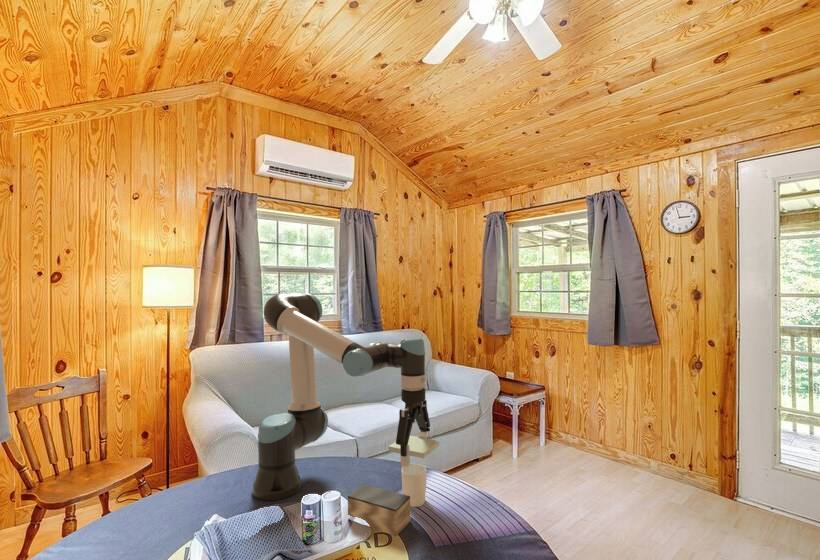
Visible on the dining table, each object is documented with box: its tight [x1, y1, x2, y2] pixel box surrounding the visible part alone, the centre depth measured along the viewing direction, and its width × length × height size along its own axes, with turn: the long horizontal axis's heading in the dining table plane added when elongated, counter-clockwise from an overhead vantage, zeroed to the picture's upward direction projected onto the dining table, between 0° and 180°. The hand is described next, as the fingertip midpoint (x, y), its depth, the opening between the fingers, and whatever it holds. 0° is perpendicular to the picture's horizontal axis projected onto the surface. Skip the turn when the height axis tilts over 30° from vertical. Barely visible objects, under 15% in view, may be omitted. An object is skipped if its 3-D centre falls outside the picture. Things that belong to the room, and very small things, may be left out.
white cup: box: [400, 463, 428, 508], centre depth 129 cm, size 8×8×10 cm
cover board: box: [388, 435, 440, 459], centre depth 129 cm, size 12×11×2 cm
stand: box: [347, 483, 411, 537], centre depth 118 cm, size 16×8×7 cm, turn 62°
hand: (414, 458), depth 129 cm, fingers closed on cover board, 11 cm apart
